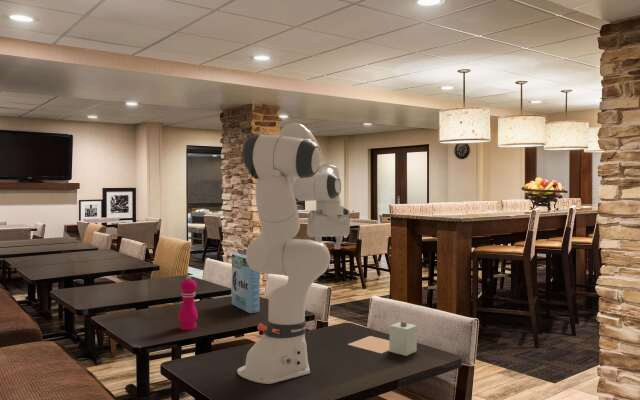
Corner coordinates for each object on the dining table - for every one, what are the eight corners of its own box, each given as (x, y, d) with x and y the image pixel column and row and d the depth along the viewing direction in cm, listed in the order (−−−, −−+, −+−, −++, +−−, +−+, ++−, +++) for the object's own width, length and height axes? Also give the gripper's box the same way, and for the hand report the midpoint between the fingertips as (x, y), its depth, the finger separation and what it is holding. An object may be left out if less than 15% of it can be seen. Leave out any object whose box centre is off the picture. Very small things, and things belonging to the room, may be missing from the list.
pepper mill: (192, 331, 200) (193, 277, 199) (174, 329, 202) (175, 276, 201) (201, 326, 207) (201, 274, 206) (183, 324, 209) (184, 273, 208)
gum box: (259, 312, 230) (260, 258, 229) (248, 313, 228) (249, 259, 227) (241, 303, 247) (241, 252, 246) (230, 304, 244) (231, 253, 243)
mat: (381, 354, 179) (381, 353, 179) (347, 345, 188) (347, 344, 188) (403, 344, 190) (403, 344, 190) (370, 336, 199) (370, 335, 199)
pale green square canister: (406, 356, 177) (407, 325, 177) (389, 352, 181) (390, 321, 181) (416, 352, 182) (417, 321, 182) (399, 347, 186) (400, 318, 186)
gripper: (316, 209, 185) (316, 250, 184) (352, 211, 200) (353, 248, 199) (302, 210, 189) (302, 250, 188) (339, 211, 204) (339, 248, 203)
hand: (329, 249), depth 194 cm, fingers open, 8 cm apart
